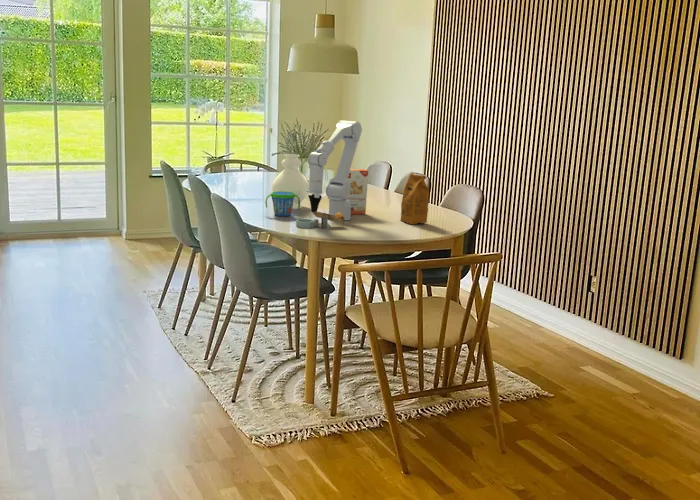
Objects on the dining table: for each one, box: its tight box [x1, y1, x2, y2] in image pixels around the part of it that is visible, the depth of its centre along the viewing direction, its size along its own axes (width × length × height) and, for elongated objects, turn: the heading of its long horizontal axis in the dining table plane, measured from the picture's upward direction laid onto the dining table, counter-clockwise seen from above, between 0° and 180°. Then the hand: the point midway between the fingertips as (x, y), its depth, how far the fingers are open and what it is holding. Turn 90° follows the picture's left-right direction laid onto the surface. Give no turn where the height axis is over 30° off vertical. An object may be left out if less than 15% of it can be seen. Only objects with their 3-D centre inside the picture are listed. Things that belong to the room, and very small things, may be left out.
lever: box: [311, 210, 345, 224], centre depth 319 cm, size 12×12×3 cm
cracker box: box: [336, 168, 369, 216], centre depth 349 cm, size 14×6×21 cm, turn 105°
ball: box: [336, 213, 343, 219], centre depth 317 cm, size 3×3×3 cm
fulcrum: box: [313, 216, 332, 229], centre depth 317 cm, size 7×9×5 cm
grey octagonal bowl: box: [295, 218, 315, 229], centre depth 316 cm, size 7×7×2 cm
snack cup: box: [264, 191, 301, 217], centre depth 337 cm, size 16×10×10 cm
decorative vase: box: [271, 153, 309, 210], centre depth 359 cm, size 18×18×25 cm
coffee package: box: [400, 172, 430, 225], centre depth 334 cm, size 10×12×22 cm
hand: (314, 212), depth 322 cm, fingers closed, pressing on lever
